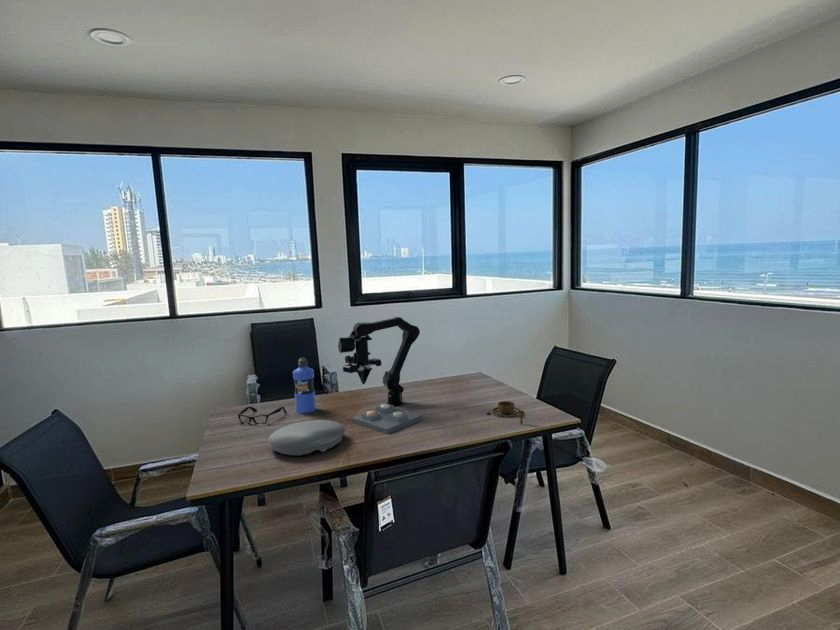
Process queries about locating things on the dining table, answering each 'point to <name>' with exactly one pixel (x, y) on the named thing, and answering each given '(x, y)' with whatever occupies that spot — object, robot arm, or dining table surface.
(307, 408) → the water bottle
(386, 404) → the ivory button
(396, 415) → the sage button
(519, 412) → the place setting
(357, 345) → the robot arm
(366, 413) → the terracotta button
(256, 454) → the dining table surface
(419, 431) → the dining table surface
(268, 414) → the glasses
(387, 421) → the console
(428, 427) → the dining table surface
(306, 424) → the grey low domed part
